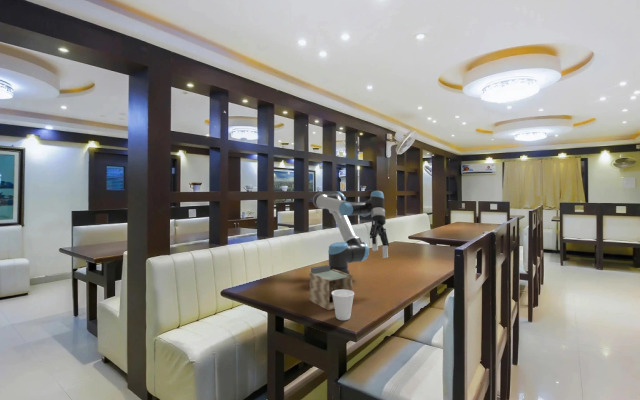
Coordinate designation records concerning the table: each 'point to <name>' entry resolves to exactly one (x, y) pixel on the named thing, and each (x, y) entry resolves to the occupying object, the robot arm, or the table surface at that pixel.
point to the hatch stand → (327, 288)
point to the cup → (343, 303)
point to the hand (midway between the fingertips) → (380, 254)
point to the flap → (327, 273)
